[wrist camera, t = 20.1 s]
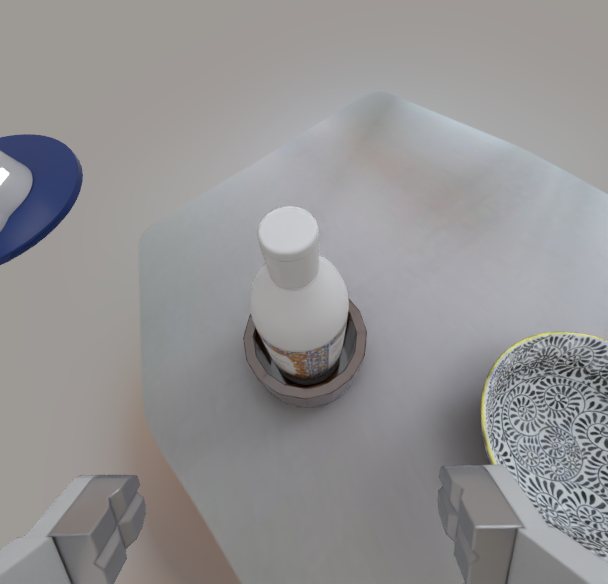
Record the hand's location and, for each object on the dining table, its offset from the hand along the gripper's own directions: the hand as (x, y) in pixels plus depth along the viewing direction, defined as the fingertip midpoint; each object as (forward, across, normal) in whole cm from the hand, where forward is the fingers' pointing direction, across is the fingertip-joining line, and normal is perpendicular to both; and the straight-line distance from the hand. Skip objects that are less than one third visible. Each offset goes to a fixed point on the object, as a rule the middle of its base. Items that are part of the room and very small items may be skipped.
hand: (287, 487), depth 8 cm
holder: (+23, 0, +9) cm, 25 cm away
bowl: (+17, -20, +15) cm, 31 cm away
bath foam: (+23, 0, +8) cm, 24 cm away
